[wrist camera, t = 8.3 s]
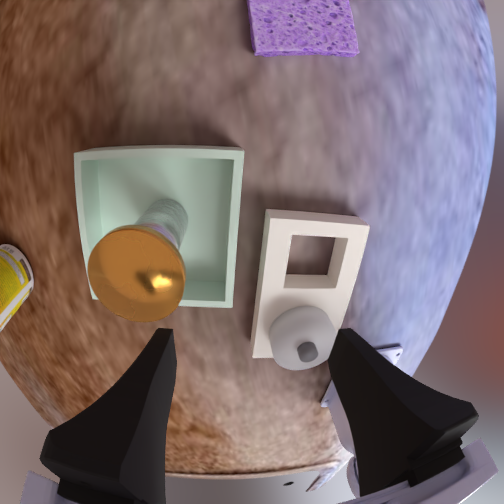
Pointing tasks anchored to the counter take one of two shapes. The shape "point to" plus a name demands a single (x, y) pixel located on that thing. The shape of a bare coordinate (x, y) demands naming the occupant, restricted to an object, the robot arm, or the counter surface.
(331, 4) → the sponges
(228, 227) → the tray
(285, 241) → the block
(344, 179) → the counter surface
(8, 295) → the supplement bottle
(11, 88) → the counter surface
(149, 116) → the counter surface
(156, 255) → the pin
